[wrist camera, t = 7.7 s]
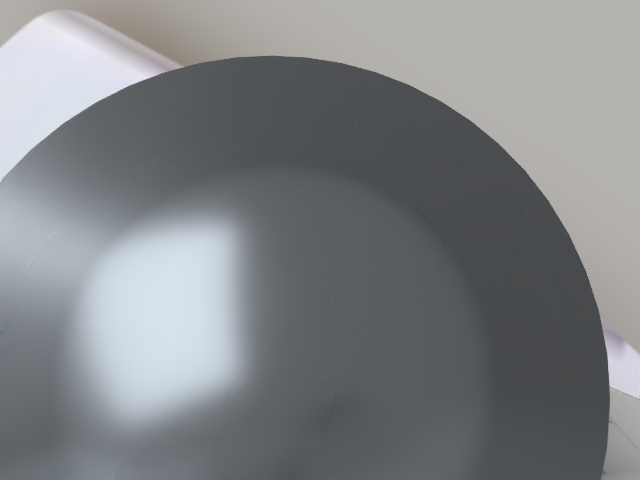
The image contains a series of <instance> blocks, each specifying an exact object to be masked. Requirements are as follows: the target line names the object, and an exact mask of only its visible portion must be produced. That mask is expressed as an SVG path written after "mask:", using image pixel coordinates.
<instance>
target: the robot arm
mask: <svg viewBox="0 0 640 480" xmlns="http://www.w3.org/2000/svg"><path fill="white" fill-rule="evenodd" d="M609 389H610V411H609V427H608V444H607V451H606V456H605V461H604V466H603V471H602V477H601V480H640V399H637V398H635V397H633V396H630V395H628V394H626V393H624V392H621V391H619V390H617V389H614V388H612V387H610V386H609Z"/></svg>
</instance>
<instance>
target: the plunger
mask: <svg viewBox="0 0 640 480" xmlns="http://www.w3.org/2000/svg"><path fill="white" fill-rule="evenodd" d="M609 411H610V389H609V374H608V359H607V351H606V346H605V341H604V335H603V330H602V325H601V320H600V315H599V310H598V307H597V304H596V301H595V298H594V295H593V292H592V289H591V286H590V282H589V279H588V276H587V273H586V271H585V268H584V266H583V264H582V262H581V260H580V257H579V255H578V253H577V251H576V249H575V247H574V244H573V242H572V240H571V238H570V236H569V234H568V232H567V231H566V229H565V227H564V226H563V224H562V222H561V221H560V219H559V217H558V216H557V214H556V213H555V211H554V209H553V208H552V206H551V204H550V203H549V201H548V200H547V199H546V197H545V196H544V195H543V193H542V192H541V191H540V190H539V188H538V187H537V186H536V184H535V183H534V182H533V180H532V179H531V178H530V177H529V175H528V174H527V173H526V171H525V170H524V169H523V168H522V167H521V166H520V165H519V164H518V163H517V162H516V161H515V160H514V159H513V158H512V157H511V156H510V155H509V154H508V153H507V152H506V151H505V150H504V149H503V148H502V147H501V146H500V145H499V144H498V143H497V142H496V141H495V140H493V139H492V138H491V137H490V136H488V135H487V134H486V133H485V132H484V131H482V130H481V129H480V128H479V127H477V126H476V125H475V124H474V123H473V122H471V121H470V120H469V119H467V118H465V117H464V116H462V115H461V114H459V113H458V112H456V111H455V110H453V109H452V108H450V107H449V106H447V105H446V104H444V103H443V102H441V101H439V100H437V99H435V98H433V97H431V96H429V95H427V94H425V93H423V92H421V91H420V90H418V89H416V88H414V87H412V86H410V85H407V84H405V83H402V82H400V81H397V80H394V79H392V78H389V77H386V76H384V75H381V74H379V73H376V72H372V71H369V70H365V69H361V68H358V67H354V66H350V65H346V64H343V63H337V62H331V61H324V60H318V59H312V58H303V57H284V56H259V57H238V58H230V59H224V60H217V61H211V62H205V63H199V64H195V65H191V66H188V67H184V68H180V69H176V70H172V71H168V72H165V73H162V74H159V75H157V76H154V77H151V78H149V79H146V80H143V81H141V82H138V83H136V84H133V85H130V86H128V87H126V88H124V89H122V90H120V91H118V92H116V93H114V94H112V95H110V96H108V97H106V98H104V99H102V100H100V101H98V102H96V103H95V104H93V105H92V106H90V107H89V108H87V109H85V110H84V111H82V112H81V113H79V114H78V115H76V116H75V117H73V118H71V119H70V120H68V121H67V122H65V123H64V124H62V125H61V126H60V127H59V128H57V129H56V130H55V131H54V132H52V133H51V134H50V135H49V136H48V137H46V138H45V139H44V140H43V141H41V142H40V143H39V144H38V145H36V146H35V147H34V148H33V149H32V150H31V151H30V152H29V153H28V154H27V155H26V156H25V157H24V158H23V159H22V160H21V161H20V162H19V163H18V164H17V165H16V166H15V167H14V168H13V169H12V170H11V171H10V172H9V173H8V174H7V175H6V176H5V177H4V178H3V179H2V180H1V182H0V480H601V477H602V471H603V466H604V461H605V456H606V451H607V444H608V427H609Z"/></svg>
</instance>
